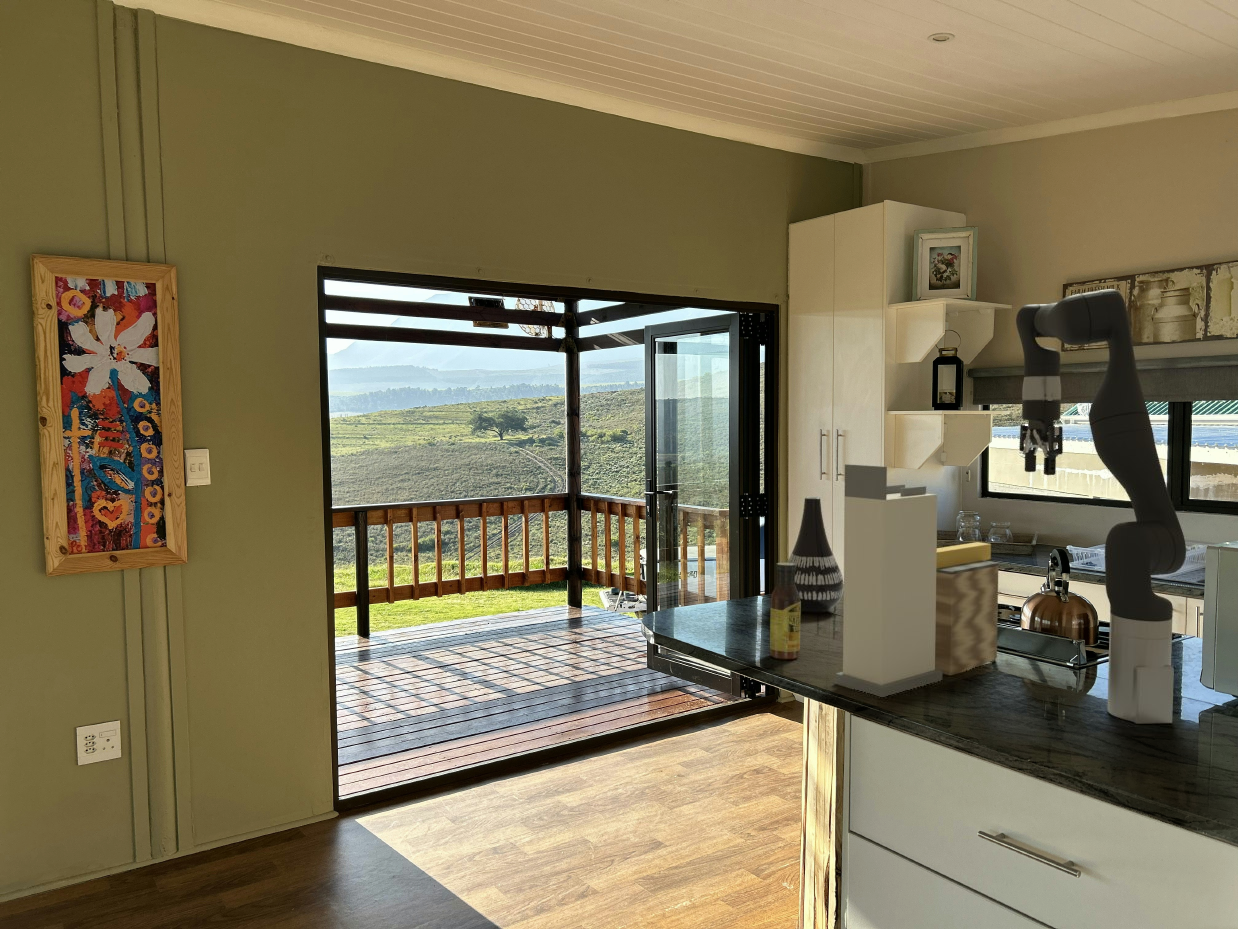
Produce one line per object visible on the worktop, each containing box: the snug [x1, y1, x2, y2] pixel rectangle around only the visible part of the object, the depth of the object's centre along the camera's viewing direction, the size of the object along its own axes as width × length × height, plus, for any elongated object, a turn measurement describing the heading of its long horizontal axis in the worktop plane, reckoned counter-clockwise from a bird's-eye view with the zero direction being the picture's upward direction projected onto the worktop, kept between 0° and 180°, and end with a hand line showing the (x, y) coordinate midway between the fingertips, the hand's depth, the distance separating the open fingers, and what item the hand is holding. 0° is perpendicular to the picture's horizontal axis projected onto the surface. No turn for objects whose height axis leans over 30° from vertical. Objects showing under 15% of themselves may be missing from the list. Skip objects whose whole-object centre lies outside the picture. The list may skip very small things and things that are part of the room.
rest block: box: [935, 560, 1000, 676], centre depth 189 cm, size 16×9×21 cm, turn 126°
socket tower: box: [834, 463, 943, 698], centre depth 176 cm, size 18×11×42 cm, turn 126°
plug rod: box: [936, 541, 992, 568], centre depth 188 cm, size 24×4×4 cm, turn 125°
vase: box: [786, 496, 844, 615], centre depth 237 cm, size 16×16×30 cm
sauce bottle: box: [769, 562, 801, 660], centre depth 195 cm, size 6×6×20 cm
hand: (1039, 473), depth 199 cm, fingers open, 8 cm apart
